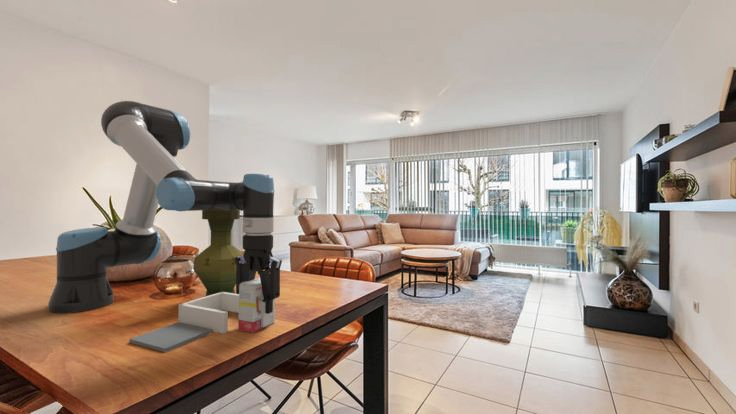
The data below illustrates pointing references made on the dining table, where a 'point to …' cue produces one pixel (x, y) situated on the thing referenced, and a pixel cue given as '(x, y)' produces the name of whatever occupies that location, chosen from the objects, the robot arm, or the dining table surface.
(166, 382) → the dining table surface
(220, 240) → the vase
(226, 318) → the frame
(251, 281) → the ink box
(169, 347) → the stand pad
